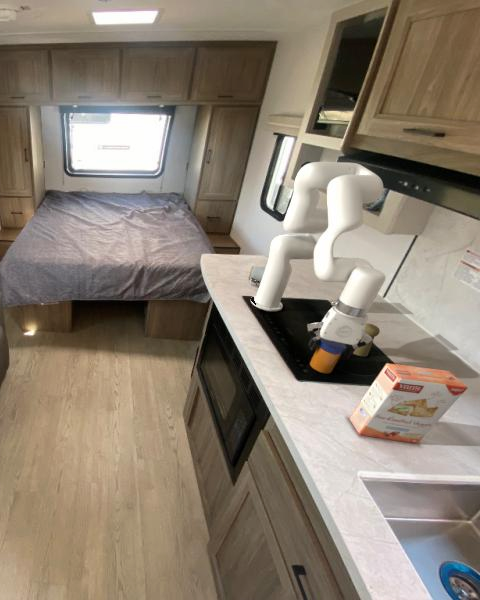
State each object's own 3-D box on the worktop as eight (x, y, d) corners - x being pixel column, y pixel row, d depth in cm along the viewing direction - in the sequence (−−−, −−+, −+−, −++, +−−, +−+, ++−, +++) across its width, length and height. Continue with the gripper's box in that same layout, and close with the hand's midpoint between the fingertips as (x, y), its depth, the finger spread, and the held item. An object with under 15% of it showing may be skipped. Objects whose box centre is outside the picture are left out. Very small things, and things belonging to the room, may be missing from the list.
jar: (306, 359, 113) (317, 337, 108) (326, 361, 112) (338, 339, 107) (314, 371, 108) (326, 349, 103) (335, 374, 107) (348, 352, 102)
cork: (359, 357, 114) (374, 332, 109) (343, 347, 119) (356, 322, 114) (372, 354, 116) (387, 329, 110) (355, 344, 121) (369, 319, 115)
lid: (336, 356, 102) (338, 352, 101) (313, 344, 107) (315, 339, 106) (348, 350, 104) (350, 345, 104) (325, 338, 110) (328, 334, 109)
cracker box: (359, 436, 86) (400, 378, 76) (347, 418, 92) (384, 361, 81) (419, 446, 84) (470, 387, 74) (404, 426, 90) (449, 369, 79)
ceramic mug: (248, 276, 169) (252, 262, 165) (266, 280, 165) (270, 266, 161) (245, 284, 161) (250, 270, 157) (264, 288, 157) (269, 274, 153)
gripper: (320, 307, 98) (299, 352, 106) (391, 320, 92) (363, 366, 101) (315, 296, 104) (296, 339, 112) (382, 307, 98) (356, 352, 107)
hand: (328, 352), depth 107 cm, fingers open, 9 cm apart
